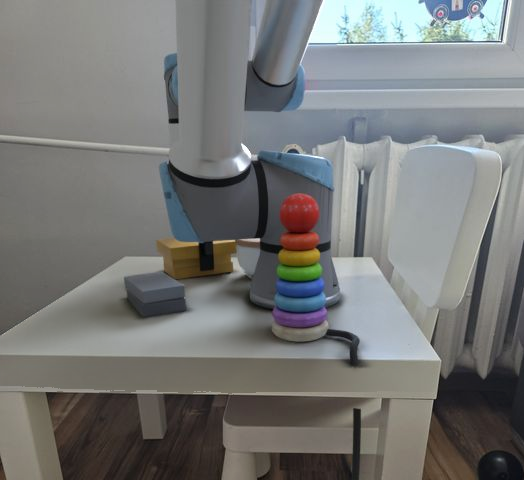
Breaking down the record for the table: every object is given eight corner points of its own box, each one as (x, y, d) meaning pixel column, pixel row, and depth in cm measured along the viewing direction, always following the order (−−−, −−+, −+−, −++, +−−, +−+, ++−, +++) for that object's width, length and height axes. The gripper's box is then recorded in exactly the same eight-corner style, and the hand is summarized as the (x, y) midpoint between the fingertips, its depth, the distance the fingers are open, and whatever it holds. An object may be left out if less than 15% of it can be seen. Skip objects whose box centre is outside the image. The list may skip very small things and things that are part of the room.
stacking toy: (335, 327, 71) (341, 191, 64) (318, 347, 65) (322, 198, 57) (284, 320, 74) (284, 190, 67) (262, 339, 68) (260, 196, 60)
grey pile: (187, 310, 80) (185, 286, 78) (142, 317, 77) (139, 292, 75) (167, 292, 89) (165, 271, 87) (126, 298, 86) (123, 276, 84)
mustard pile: (219, 264, 109) (218, 245, 108) (233, 271, 103) (232, 252, 101) (163, 271, 104) (161, 252, 102) (174, 279, 97) (172, 259, 96)
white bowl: (251, 267, 106) (250, 222, 102) (298, 272, 101) (298, 225, 98) (226, 279, 97) (224, 230, 93) (276, 285, 92) (276, 234, 89)
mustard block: (171, 260, 95) (170, 248, 94) (157, 251, 103) (156, 239, 102) (238, 253, 101) (238, 241, 100) (219, 244, 109) (219, 233, 108)
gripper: (232, 149, 86) (236, 274, 95) (189, 147, 105) (196, 252, 114) (191, 150, 83) (199, 279, 92) (155, 148, 102) (164, 256, 111)
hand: (198, 264), depth 103 cm, fingers closed on mustard block, 10 cm apart
